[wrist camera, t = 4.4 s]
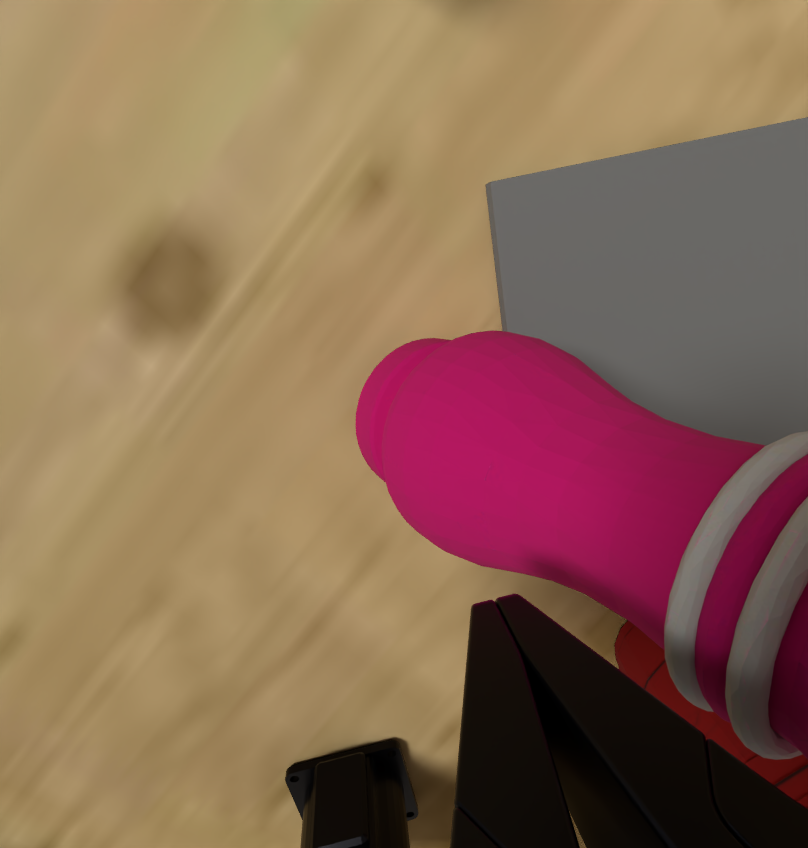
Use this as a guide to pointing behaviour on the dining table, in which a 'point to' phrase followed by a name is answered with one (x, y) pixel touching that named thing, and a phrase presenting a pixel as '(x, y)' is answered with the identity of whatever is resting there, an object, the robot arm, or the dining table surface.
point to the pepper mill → (609, 512)
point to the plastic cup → (702, 712)
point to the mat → (671, 275)
